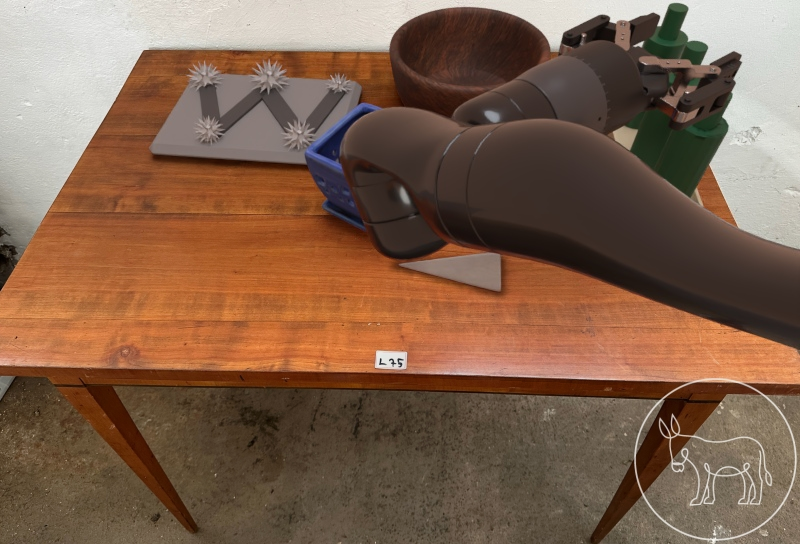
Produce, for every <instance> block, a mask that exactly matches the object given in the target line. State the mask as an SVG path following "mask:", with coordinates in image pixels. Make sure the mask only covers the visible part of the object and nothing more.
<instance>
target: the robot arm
mask: <svg viewBox="0 0 800 544" xmlns="http://www.w3.org/2000/svg"><path fill="white" fill-rule="evenodd" d="M660 20H661V14H658V13H656V12H650V13H649V14H644V15H639V16H637V17H635V18H633V19H630V20H625V19H619V20H617V21H616V23H615V22H611V16H609V15H608V14H598V15H596V16H593V17H592V18H590V19H588V20H586V21H584V22H581V23H579V24H577V25H576V26H574V27H572V28H570V29H569V28H568V29H567V30H565V31H564V32H563V33H562V37H561V40H560V45H559V49H558V54H557V56H555V57H553V58H550V60H548V61H546V62H544V63H542V64H539V65H537V66H535V67H533V68H531V69H529V70H527V71H526V72H524V73H522V74H521V75H520V76H518V77H517V78H515V79H513V80H512V81H510V82H508V83H505V84H503V85H501V86H499V87H496V88H494V89H492V90H490V91H487V92H485V93H483V94H480V95H478V96H476V97H474V98H472V99H470V100H468V101H466V102H464V103H463V104H461V105H460V106H459V107H458V108H457V109H456V110H455V111H454V113H453V115H452V117H451V118H449V117H446V116H443V115H441V114H438V113H435V112H432V111H428V110H424V109H420V108H414V107H405V106H391V107H384V108H383V109H379V110H376V111H373V112H370V113H368V114H366V115H364V116H362V117H361V118H359V119H358V120H357V121H355V122H354V123H353V124H352V125H351V126H350V127H349V129H348V130H347V131H346V133H345V135H344V137H343V139H342V142H341V146H340V154H339V155H340V163H341V167H342V170H343V173H344V176H345V178H346V181H347V183H348V185H349V188H350V190H351V193H352V195H353V198H354V200H355V203H356V206H357V208H358V211H359V213H360V216H361V218H362V220H363V224H364V226H365V229H366V231H367V232H366V234H367V236H368V239H369V241H370V243H371V245H372V246H373V249H375V251H376V252H378V254H379V255H381V256H383V257H384V258H387V259H389V260H393V261H398V262H413V261H417V260H422V259H424V258H427V257H430V256H431V255H434V254H436V253H438V252H439V251H441V250H442V249H444V248H445V247H447V246H448V245H449V244H451V245H454V246H456V247H460V248H465V249H469V250H475V251H479V252H483V253H488V252H489V253H495V254H500V255H501V256H504V257H510V258H517V259H520V260H521V259H522V260H526V261H532V262H535V263H540V264H543V265H547V266H552V267H555V268H559V269H562V270H566V271H569V272H572V273H576V274H579V275H581V276H585V277H587V278H590V279H593V280H596V281H598V282H601V283H604V284H607V285H608V286H609V285H610V286H612V287H615V288H617V289H620V290H623V291H625V292H628V293H630V294H633V295H636V296H639V297H642V298H644V299H646V300H648V301H651V302H652V301H653V302H655V303H658V304H661V305H663V306H666V307H669V308H672V309H676V310H678V311H681V312H683V313H687V314H690V315H692V316H696V317H699V318H701V319H703V320H707V321H710V322H713V323H716V324H719V325H722V326H725V327H728V328H731V329H735V330H737V331H741V332H742V333H743V332H744V333H747V334H749V335H753V336H755V337H759V338H763V339H765V340H768V341H771V342H774V343H778V344H780V345H784V346H785V347H786V346H787V347H788V348H793V349H795V350H798V351H800V248H797V247H792V246H788V245H785V244H783V243H779V242H777V241H773V240H770V239H766V238H764V237H761V236H759V235H756V234H755V233H752V232H750V231H747V230H744V229H742V228H739V227H738V226H736V225H734V224H732V223H730V222H728V221H726V220H724V219H723V218H721V217H719V216H718V215H717V214H715V213H713V212H712V211H710V210H709V209H707V208H706V207H705V206H704V205H703V206H704V207H703V206H701V205H700V204H698V203H697V202H695V201H694V200H692V199H691V198H689V197H688V196H687V195H685V194H684V193H683V192H682V191H680V190H679V189H678V188H676V187H675V186H674V185H672V184H671V183H670V182H669V181H667V180H666V179H665V178H663V177H662V176H661V175H660V174H659V173H657V172H656V171H655V170H654V169H653V168H651V167H650V166H649V165H648V164H647V163H645V162H644V161H643V160H642V159H640V158H639V157H638V156H636V155H635V154H634V153H632V152H631V151H630V150H628V149H627V148H625V147H624V146H623V145H621V144H620V143H619V142H617V141H615V140H614V139H612V138H611V137H609V136H608V134H610V133H612V132H614V131H615V130H617V129H619V128H621V127H623V126H624V125H626V124H627V123H629V122H630V121H631V120H632V119H633V118H634V117H636V116H637V115H638V114H639V113H641V112H644V111H653V110H656V109H659V110H661V111H662V112H664V113H665V114H667V115H668V116H670V117H671V119H670V121H669V123H668V126H669V128H671V129H672V130H676V131H680V130H683V129H685V128H687V127H689V126H691V125H693V124H695V123H697V122H699V121H701V120H703V119H705V118H707V117H709V116H711V115H713V114H715V113H717V112H719V111H721V110H722V109H723V107H724V105H725V103H726V101H727V100H728V98H729V96H730V94H731V92H732V93H733V90H734V89H735V86H736V84H737V82H736V80H735V77H736V76H737V74H738V72H739V69H740V68H741V66H742V63H743V61H741V59H742V57H743V55H742V54H741V53H739V52H738V51H735V50H733V51H731V52H729V53H727V54H725V55H723V56H721V57H720V58H717V59H715V60H713V61H712V62H710V63H709V64H701V65H692V64H691V62H690V61H689V60H687V59H662V58H660V57H658V56H655V55H652V54H650V53H649V52H648V51H646V50H645V49H643V48H642V46H640V45H638V44H640V43H643V42H644V41H645V40H647V39H649V38H651V37H652V36H653V35H654V33H655V31H656V28H657V26H659V22H660ZM670 73H677V74H676V77H675V79H674V81H673V84H672V86H671V87H670V88H669V75H670ZM693 78H701V79H700V81H699V83H698V85H697V86H688V84H689V82H690V80H691V79H693Z"/></svg>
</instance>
